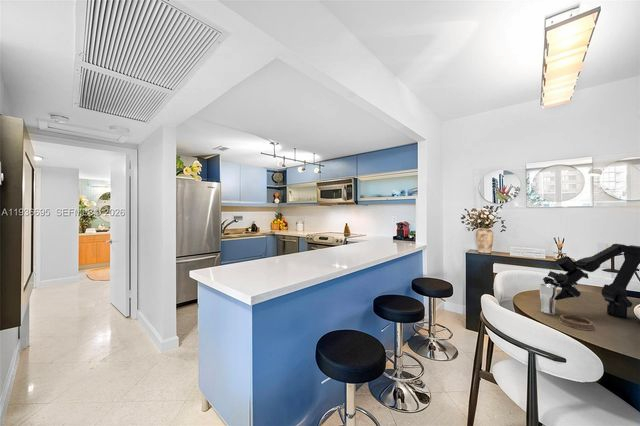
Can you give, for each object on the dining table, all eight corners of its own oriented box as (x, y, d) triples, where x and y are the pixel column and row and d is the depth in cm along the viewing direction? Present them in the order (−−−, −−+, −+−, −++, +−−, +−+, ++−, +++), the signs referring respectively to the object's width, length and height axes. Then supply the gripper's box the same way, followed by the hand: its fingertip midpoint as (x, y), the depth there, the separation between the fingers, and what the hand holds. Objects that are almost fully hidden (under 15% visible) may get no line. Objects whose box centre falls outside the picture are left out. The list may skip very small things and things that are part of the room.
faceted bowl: (594, 324, 122) (594, 319, 122) (594, 333, 114) (595, 328, 114) (559, 316, 131) (559, 312, 131) (557, 324, 123) (557, 319, 123)
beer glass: (550, 315, 132) (551, 288, 132) (536, 310, 139) (536, 284, 139) (559, 314, 134) (560, 286, 134) (545, 308, 141) (545, 283, 141)
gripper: (546, 263, 144) (525, 280, 146) (574, 271, 126) (550, 291, 128) (561, 276, 144) (540, 294, 145) (591, 287, 125) (567, 307, 127)
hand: (548, 296), depth 136 cm, fingers open, 9 cm apart
